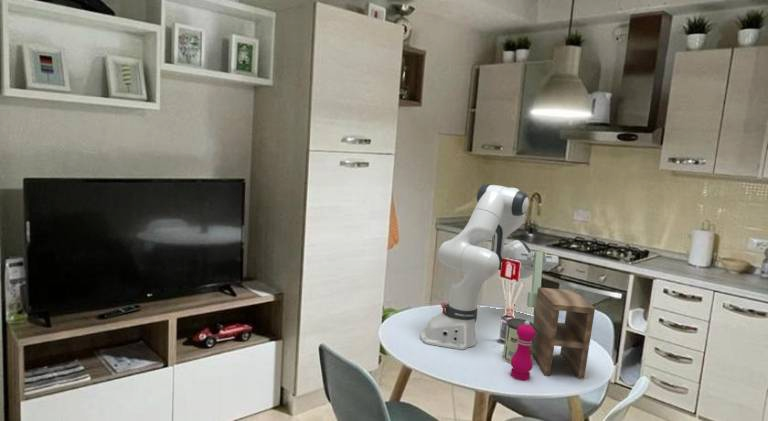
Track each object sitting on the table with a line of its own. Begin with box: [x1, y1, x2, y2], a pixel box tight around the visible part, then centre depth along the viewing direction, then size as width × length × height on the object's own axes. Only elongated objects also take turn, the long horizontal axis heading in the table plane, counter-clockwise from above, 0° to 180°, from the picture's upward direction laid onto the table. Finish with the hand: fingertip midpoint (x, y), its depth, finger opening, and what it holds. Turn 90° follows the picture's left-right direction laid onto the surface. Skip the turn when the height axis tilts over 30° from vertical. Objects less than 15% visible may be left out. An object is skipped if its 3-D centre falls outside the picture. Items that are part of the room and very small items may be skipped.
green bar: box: [526, 250, 544, 308], centre depth 222 cm, size 6×24×3 cm
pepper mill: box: [510, 320, 535, 381], centre depth 177 cm, size 7×7×20 cm
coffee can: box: [502, 318, 535, 364], centre depth 191 cm, size 10×10×14 cm
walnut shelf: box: [531, 287, 596, 380], centre depth 188 cm, size 14×20×26 cm
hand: (539, 254), depth 221 cm, fingers closed on green bar, 3 cm apart
